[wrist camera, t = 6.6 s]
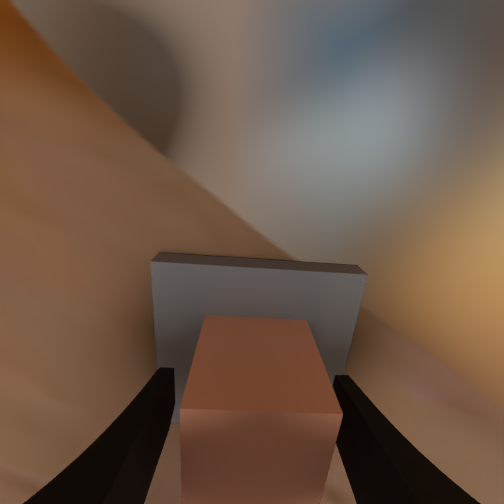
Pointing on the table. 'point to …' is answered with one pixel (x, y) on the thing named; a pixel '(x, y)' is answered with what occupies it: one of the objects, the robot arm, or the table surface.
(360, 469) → the robot arm
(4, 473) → the table surface
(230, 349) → the clay cube
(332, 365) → the slate tile
